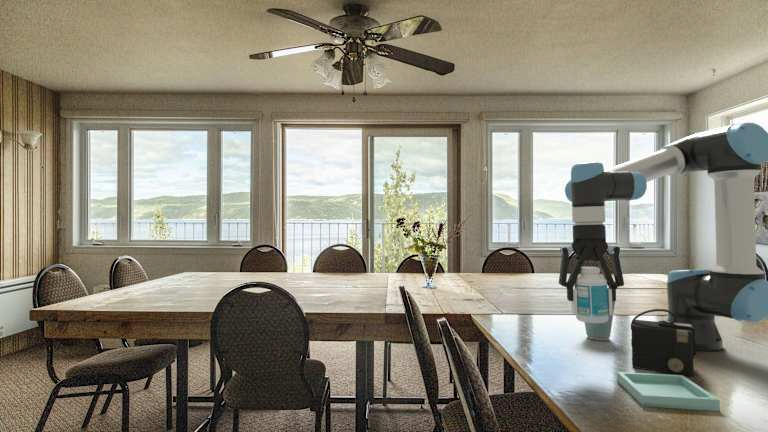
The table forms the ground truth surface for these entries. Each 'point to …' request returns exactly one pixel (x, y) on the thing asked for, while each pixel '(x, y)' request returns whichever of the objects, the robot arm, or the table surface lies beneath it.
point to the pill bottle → (591, 296)
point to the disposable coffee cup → (600, 328)
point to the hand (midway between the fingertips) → (591, 313)
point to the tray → (667, 391)
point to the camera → (663, 345)
